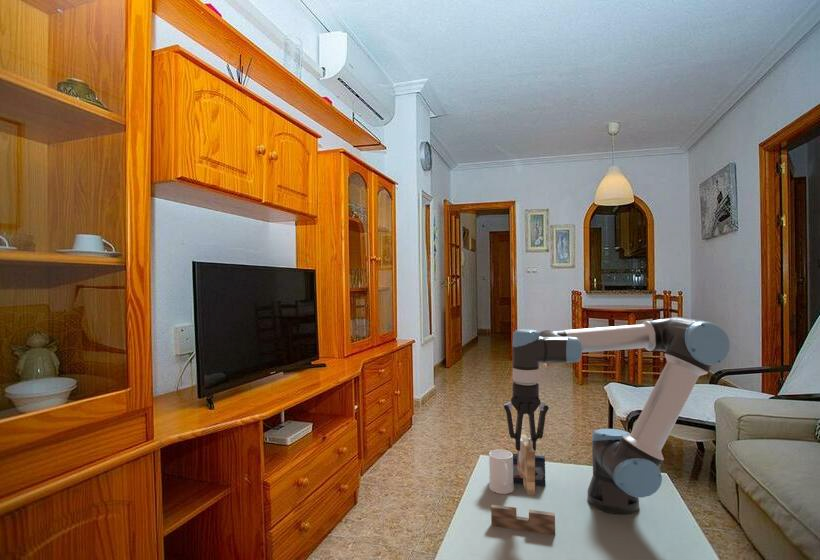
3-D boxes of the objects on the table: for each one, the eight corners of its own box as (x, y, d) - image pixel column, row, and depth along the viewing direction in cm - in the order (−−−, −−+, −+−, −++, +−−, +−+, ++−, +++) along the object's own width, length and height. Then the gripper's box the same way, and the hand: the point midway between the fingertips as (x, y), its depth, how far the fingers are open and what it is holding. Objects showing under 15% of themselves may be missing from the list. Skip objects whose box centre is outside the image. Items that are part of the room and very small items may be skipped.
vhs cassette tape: (492, 481, 159) (491, 453, 159) (493, 477, 162) (492, 450, 162) (545, 487, 154) (545, 459, 154) (545, 483, 156) (545, 455, 156)
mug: (518, 498, 146) (518, 462, 146) (493, 499, 146) (492, 463, 146) (511, 482, 158) (510, 448, 158) (487, 482, 158) (486, 449, 158)
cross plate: (534, 494, 123) (534, 451, 123) (527, 494, 123) (527, 451, 123) (524, 469, 139) (523, 431, 139) (517, 469, 139) (517, 431, 139)
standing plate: (555, 531, 127) (554, 512, 127) (555, 535, 126) (554, 515, 125) (492, 522, 132) (491, 504, 132) (491, 525, 131) (491, 507, 131)
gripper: (548, 379, 134) (548, 456, 134) (498, 378, 135) (498, 455, 135) (554, 385, 126) (554, 467, 127) (501, 384, 127) (501, 466, 128)
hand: (525, 461), depth 131 cm, fingers closed on cross plate, 2 cm apart
